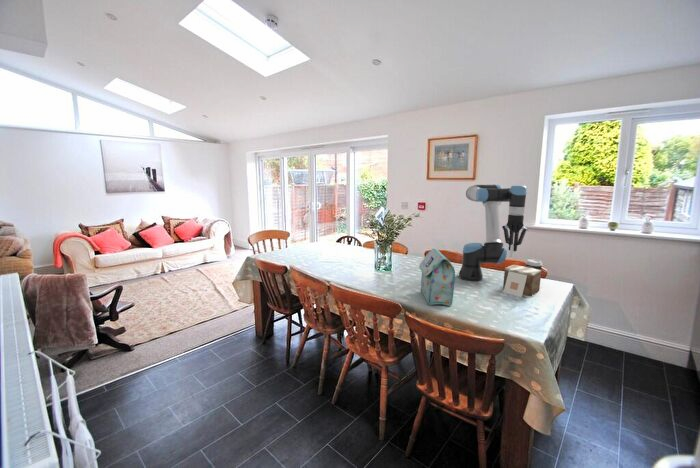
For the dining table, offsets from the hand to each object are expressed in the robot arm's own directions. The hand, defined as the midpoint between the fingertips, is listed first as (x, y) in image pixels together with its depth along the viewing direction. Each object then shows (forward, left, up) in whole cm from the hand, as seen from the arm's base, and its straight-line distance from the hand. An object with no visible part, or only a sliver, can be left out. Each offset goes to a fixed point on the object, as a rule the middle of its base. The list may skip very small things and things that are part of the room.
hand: (512, 256), depth 176 cm
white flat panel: (0, +8, -18) cm, 20 cm away
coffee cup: (0, +34, -24) cm, 41 cm away
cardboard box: (0, +17, -24) cm, 29 cm away
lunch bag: (-26, -33, -24) cm, 48 cm away
